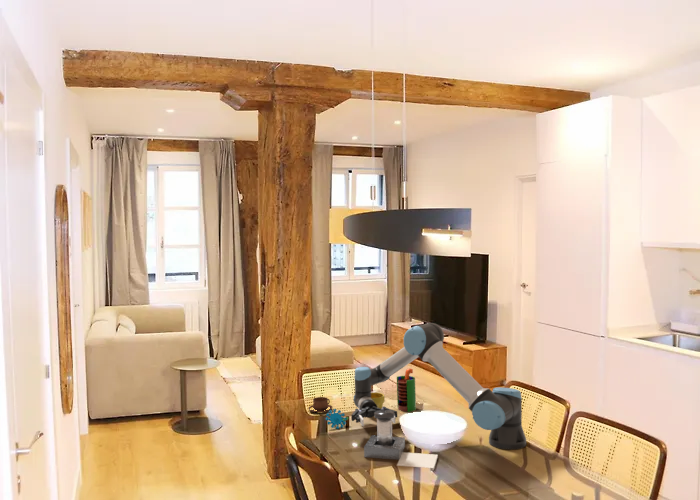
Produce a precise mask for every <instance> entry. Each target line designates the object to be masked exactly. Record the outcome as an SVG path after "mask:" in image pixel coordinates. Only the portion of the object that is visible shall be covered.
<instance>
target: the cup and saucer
mask: <svg viewBox="0 0 700 500" xmlns="http://www.w3.org/2000/svg"><path fill="white" fill-rule="evenodd" d="M312 401H313V402H312V403H313V404H312V405H310V406H309V407H308V410H309V411H310V412H312V413H315V412H324V413H329V410H332V409H334V408H333V405H331V404H330V399H329V398H328V397H325V396H318V397H313V399H312ZM311 407H313V408H314V409H315V410H317V411H314V410H310V408H311ZM328 407H330V409H329V410H326V409H327V408H328ZM324 410H325V411H324Z"/></svg>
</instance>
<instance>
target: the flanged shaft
mask: <svg viewBox="0 0 700 500" xmlns="http://www.w3.org/2000/svg"><path fill="white" fill-rule="evenodd" d="M373 418H375V419H376V430H377V431H376V436H377V445H385V446H392V437H393V422H392V418H394V412H393V411H391V410H378V411H375V412H374V417H373Z"/></svg>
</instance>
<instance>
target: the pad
mask: <svg viewBox="0 0 700 500" xmlns="http://www.w3.org/2000/svg"><path fill="white" fill-rule="evenodd" d="M438 456H439V455H438V454H432V453H430V454H429V453H422V452H421V453H418V452H404V451H403V453H402V455H401V457H400V459H399V460H398V462H397V463H396V466H399V467H412V468H413V467H414V468H422V469H423V468H425V469H430V471H433V472H434V471H435V468H436V464H437V460H438Z"/></svg>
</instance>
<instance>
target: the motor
mask: <svg viewBox="0 0 700 500" xmlns="http://www.w3.org/2000/svg"><path fill="white" fill-rule="evenodd" d="M413 370H414V369H413V368H407V369H406V370H405V373H404V375H400V376H399V375H398V376H396V399H397V402H396V403H397V409H399V410H398V411H400V410H401V412H408V413H410V412H414V411H416V410H417V404H416V403H417V401H416V400H417V399H416V378H415V376H411V375H410V374H413V373H414V371H413Z"/></svg>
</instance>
